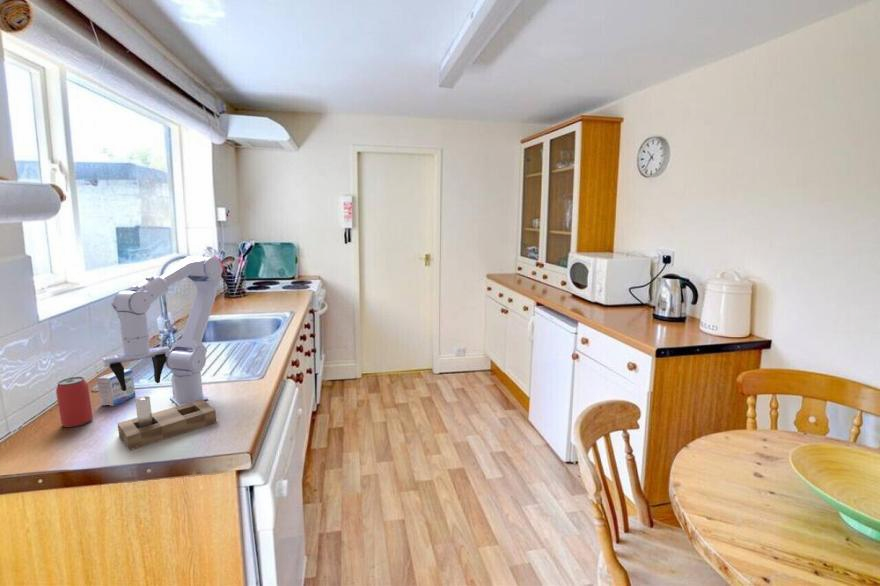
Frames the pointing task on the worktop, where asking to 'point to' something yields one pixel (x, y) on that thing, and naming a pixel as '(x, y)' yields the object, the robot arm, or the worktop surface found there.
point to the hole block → (167, 424)
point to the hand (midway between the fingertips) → (141, 385)
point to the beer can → (74, 401)
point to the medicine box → (115, 388)
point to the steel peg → (144, 411)
